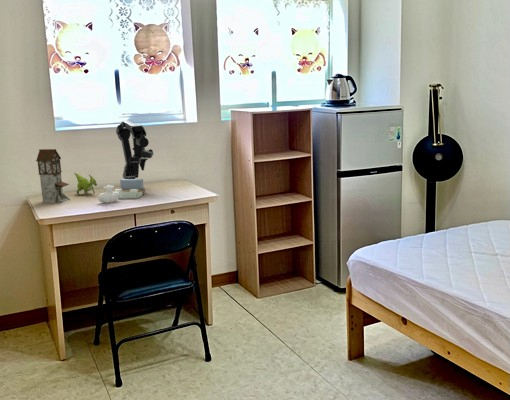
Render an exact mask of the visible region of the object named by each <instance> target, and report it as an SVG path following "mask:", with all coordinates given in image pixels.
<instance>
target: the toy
mask: <svg viewBox="0 0 510 400" xmlns="http://www.w3.org/2000/svg"><path fill="white" fill-rule="evenodd" d="M73 175H75V177H76V180H77V184H76V185H77V189H76V194H77V195H80V192H81V191H82V190H83V193H84V195H85V196H87V194H88V193H89V192H90V191H91V190H92V192H93V194H96V193H95V190H94V186H95V187H97V185H98V183H97V180H96V179H95V178H94V177H93V176H92V175H91V174H88V176H89V177H90V180H89V179H87V178H86V177H84V176H81V175H80V174H78V173H76V172H74V173H73Z"/></svg>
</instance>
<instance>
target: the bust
mask: <svg viewBox="0 0 510 400" xmlns="http://www.w3.org/2000/svg"><path fill="white" fill-rule="evenodd" d="M102 187H103V189H105V192H101V193H99V194H98V195H97V198H98V200H99V202H100V203H105V204H106V203H107V204H112V203H114V202H115V201H118V200H119V199H118V198H119V193H118V192H114V188H115V186H114V185H111V184H107V185H106V186H102Z"/></svg>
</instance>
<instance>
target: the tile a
mask: <svg viewBox="0 0 510 400" xmlns="http://www.w3.org/2000/svg"><path fill="white" fill-rule="evenodd" d="M113 192H122V189H121V188H115V189H113Z"/></svg>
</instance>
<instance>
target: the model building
mask: <svg viewBox="0 0 510 400" xmlns="http://www.w3.org/2000/svg"><path fill="white" fill-rule="evenodd" d="M61 159H62V158H61V156H60V154H59V153H58V151H57V149H56V148H54V149H53V148H47V149H45V148H43V149H41V148H40V149H38V154H37V157H36V160H35V162H37V169H38V175H39V178H40V179H39V181H40V189H41V197H42V203H48V204H49V203H50V204H51V203H52V204H55V203H64V202H66V201H70V199H71V198H70V197H68V196H67V195H66V194H65V193H64V190H63V187H68V186H69V185H70V183H67V182H64V181H62V172H63V171H62V166H61V165H62V164H61Z"/></svg>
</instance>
